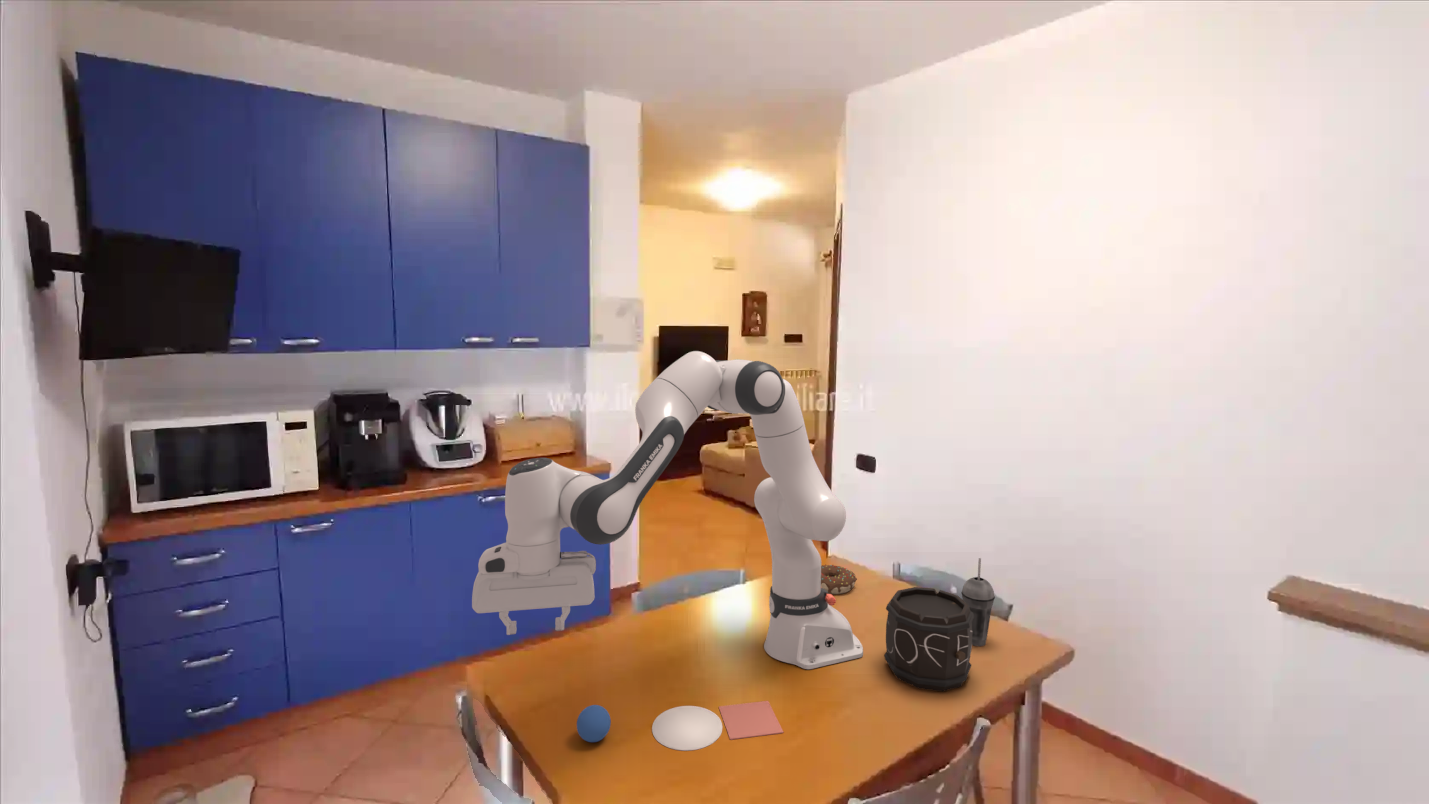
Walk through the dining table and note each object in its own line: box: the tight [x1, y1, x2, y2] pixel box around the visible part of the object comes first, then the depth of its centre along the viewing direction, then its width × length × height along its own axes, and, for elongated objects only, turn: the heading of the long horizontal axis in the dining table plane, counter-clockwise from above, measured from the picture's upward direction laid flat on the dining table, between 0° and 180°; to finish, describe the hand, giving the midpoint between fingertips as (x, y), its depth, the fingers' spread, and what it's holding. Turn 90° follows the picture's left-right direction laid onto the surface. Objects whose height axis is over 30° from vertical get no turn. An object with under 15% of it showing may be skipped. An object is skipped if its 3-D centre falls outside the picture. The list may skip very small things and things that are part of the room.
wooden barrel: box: [883, 586, 974, 692], centre depth 137 cm, size 18×18×16 cm
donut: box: [821, 564, 858, 595], centre depth 183 cm, size 14×14×5 cm
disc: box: [651, 705, 723, 752], centre depth 118 cm, size 13×13×1 cm
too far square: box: [718, 700, 784, 741], centre depth 121 cm, size 10×10×1 cm
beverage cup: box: [961, 557, 996, 647], centre depth 150 cm, size 7×7×20 cm
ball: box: [576, 704, 612, 743], centre depth 115 cm, size 6×6×6 cm
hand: (536, 631), depth 111 cm, fingers open, 7 cm apart
